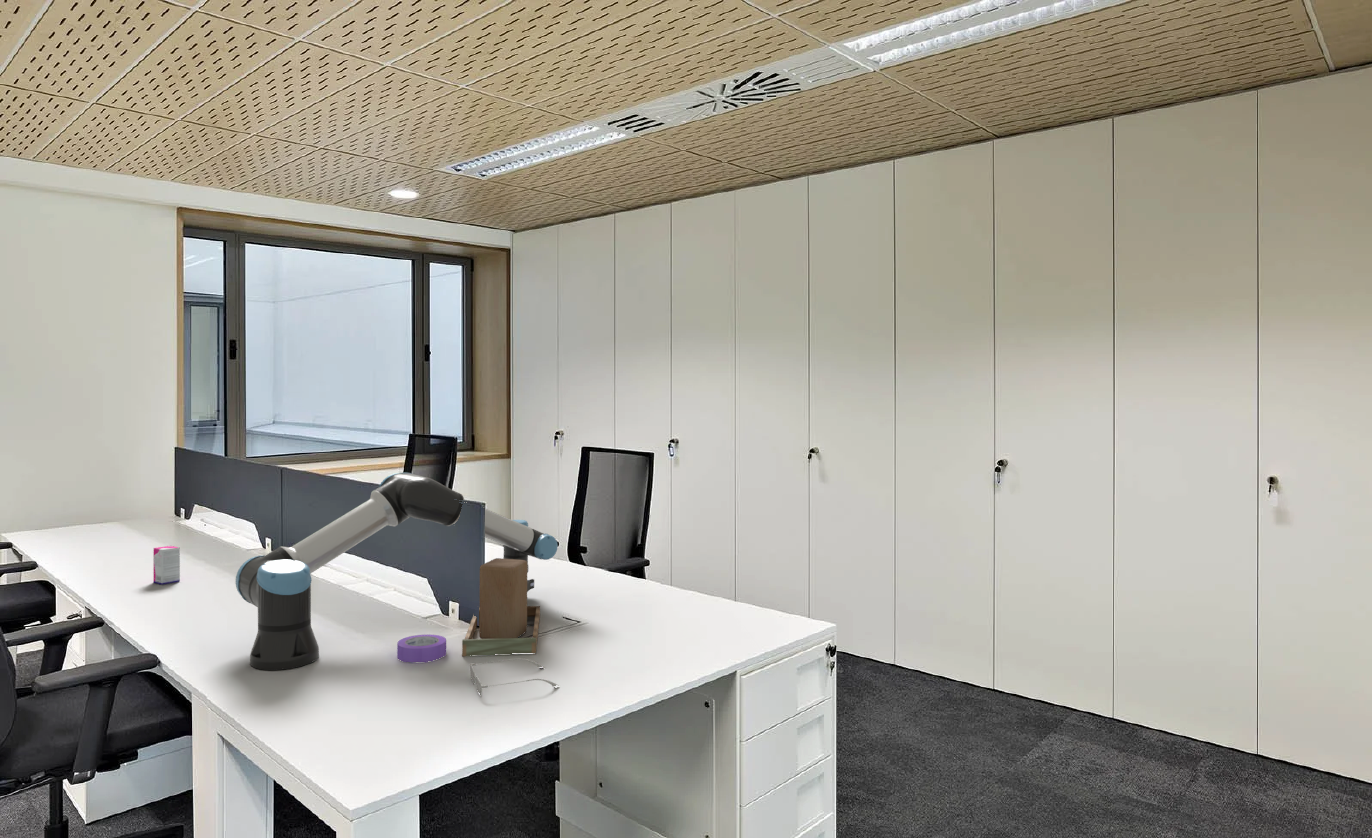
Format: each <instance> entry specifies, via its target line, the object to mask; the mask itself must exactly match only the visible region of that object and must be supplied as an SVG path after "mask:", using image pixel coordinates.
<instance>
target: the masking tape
mask: <svg viewBox="0 0 1372 838" xmlns="http://www.w3.org/2000/svg"><path fill="white" fill-rule="evenodd" d="M396 646H397V647H396V653H397V655H396V658H397V660H398V659H399V660H398V661H400V660H401V661H400V662H402V661H403V663H407V662H425V663H429V662H428V661H431V662H434V661H433V660H436V659H439V658H441V657H443V656H444V657H446V656H447V638H446V637H444V636H443V635H437V634H430V633H429V634H417V635H410V636H405V637H404V638H401V639H399V640H398V641H397V645H396ZM444 657H443V658H444ZM441 659H442V658H441ZM439 660H440V659H439ZM436 661H437V660H436Z"/></svg>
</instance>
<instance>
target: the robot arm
mask: <svg viewBox="0 0 1372 838" xmlns="http://www.w3.org/2000/svg"><path fill="white" fill-rule="evenodd" d="M369 497H370V498H369V499H367V500H366V501H365V502H362V503H361V504H360V505H358V506H356V507H355V508H353V509H352V510H350V511H348V512H345V513H344V515H342V516H340V517H338V518H336V519H335V520H333V521H331V522H330V523H328V524H327V525H325V526H323V527H322V528H320V529H318V530H317V531H315V532H314V533H312V534H310V535H308V536H307V537H305V538H304V539H302V540H300V541H299V542H297V543H295V544H294V545H292V546H290V547H288V546H282V545H281V546H279V547H277V548H276V549H274V550H272V551H270V552H269V553H267V554H264V555H256V556H253V557H250V558H248V559H246V561H245V562H243V563H242V564H241V565H240V566H239V569H238V570H237V572H236V576H235V582H234V583H235V588H236V591H237V592H238V594H239V595H240V597H241V599H243V600H244V601H245V602H247V603H248V604H251V605H254V606H255V607H257V634H256V637H255V639H254V642H253V645H252V648H251V651H250V654H249V663H250V664H249V665H250V666H251V667H252V668H254V669H257V670H261V671H262V670H264V671H279V670H280V671H281V670H291V669H294V668H295V669H296V668H299V667H303V666H307V665H309V664H311V663H313V662H315V661H317V660H318V659H319V657H320V648H319V643H318V641H317V639H316V637H315V633H314V630H313V628H312V617H311V616H312V576H311V575H312V573H314V572H316V571H318V570H319V569H320V568H322V567H323V566H325V565H327V564H328V563H330V562H331V561H333V560H334V559H336V558H338V557H339V556H341V555H342V554H344V553H345V552H347V551H349V550H350V549H352V548H353V547H355V546H356V545H358V544H359V543H361V542H363V541H364V540H366V539H367V538H370V537H371V536H373V535H374V534H376V533H377V532H378V531H381V530H382V529H383V528H385V527H387V526H389V527H397V526H398V525H400V524H402V523H403V522H405V521H406V520H408V519H409V518H412V519H416V520H417V519H418V520H422V521H426V522H427V521H428V522H429V521H430V522H434V523H437V524H440V525H443V526H445V527H451V526H452V525H453V524H455V523H456V522H457V521H458V519H459V517H460V513H461V509H462V508H461V507H462V505H463V504H461V503H459V502H462V501H459V500H466V499H465V496H464V495H463V494H462V493H460V492H457V491H455V490H453V489H452V488H449V487H448V486H446V485H445V484H444V485H443V484H442V483H440V482H438V481H437V480H434V479H433V478H430V477H428V476H421V475H418V474H415V473H411V472H407V471H406V472H403V471H402V472H395V473H391V474H389V475H387V476H386V477H385V478H384V479H383V480H382V481H381V482H380V483H379V487H377V488H375V489H373V490H372V491H371V493H370V496H369ZM454 499H457V500H454ZM464 503H465V502H464ZM466 503H467V502H466ZM453 526H454V525H453ZM484 538H486V539H488V540H491V541H494V542H496V543H498V544H500V545H503V556H502V557H503V558H502V559H516V560H525V561H527V574H528V573H529V556H530V557H533V558H536V559H538V560H542V561H549V560H550V559H553V557H555V555H556V553H557V551H558V548H559V547H558V541H557V539H556V538H555V537H554V536H553V535H550V534H548V533H544V532H541V531H539V530H536V529H534V528H531V527H529V523H528V521H527V520H526V519H511V518H508V517H506V516H503V515H501V514H499V513H497V512H494V511H493V510H490V509H489V508H485V537H484ZM534 588H535V578H531V579H527V593H528V592H529V591H530V590H532V589H534Z"/></svg>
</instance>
